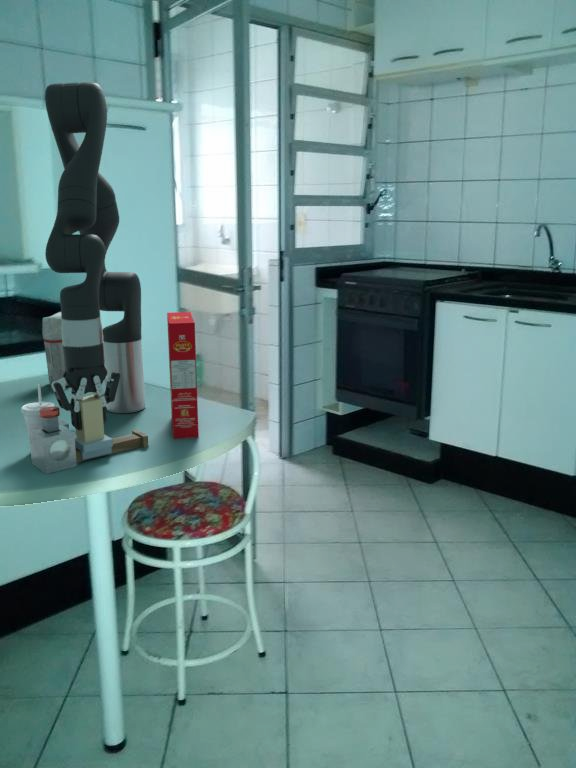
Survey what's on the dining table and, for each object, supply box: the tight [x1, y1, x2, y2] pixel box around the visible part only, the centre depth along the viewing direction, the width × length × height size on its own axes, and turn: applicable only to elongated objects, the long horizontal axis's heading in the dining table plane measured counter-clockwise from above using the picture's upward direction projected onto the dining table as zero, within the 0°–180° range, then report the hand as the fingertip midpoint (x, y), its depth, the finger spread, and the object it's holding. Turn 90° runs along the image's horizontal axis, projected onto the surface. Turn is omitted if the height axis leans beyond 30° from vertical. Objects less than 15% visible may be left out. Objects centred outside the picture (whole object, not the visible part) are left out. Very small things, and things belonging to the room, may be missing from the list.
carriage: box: [58, 394, 113, 461], centre depth 138 cm, size 15×7×11 cm, turn 40°
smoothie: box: [21, 383, 56, 440], centre depth 138 cm, size 6×6×14 cm
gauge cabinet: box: [28, 423, 78, 475], centre depth 132 cm, size 7×6×7 cm
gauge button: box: [39, 406, 61, 434], centre depth 131 cm, size 4×4×7 cm
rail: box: [75, 429, 149, 463], centre depth 139 cm, size 5×16×2 cm, turn 130°
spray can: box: [41, 311, 70, 387], centre depth 190 cm, size 8×8×20 cm
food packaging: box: [166, 311, 200, 440], centre depth 152 cm, size 15×5×25 cm, turn 11°
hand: (89, 426), depth 136 cm, fingers closed on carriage, 4 cm apart
